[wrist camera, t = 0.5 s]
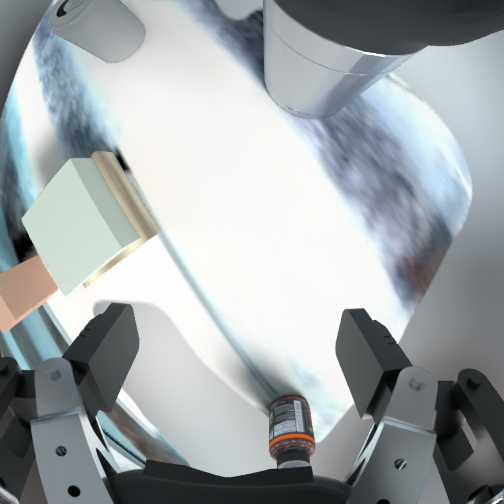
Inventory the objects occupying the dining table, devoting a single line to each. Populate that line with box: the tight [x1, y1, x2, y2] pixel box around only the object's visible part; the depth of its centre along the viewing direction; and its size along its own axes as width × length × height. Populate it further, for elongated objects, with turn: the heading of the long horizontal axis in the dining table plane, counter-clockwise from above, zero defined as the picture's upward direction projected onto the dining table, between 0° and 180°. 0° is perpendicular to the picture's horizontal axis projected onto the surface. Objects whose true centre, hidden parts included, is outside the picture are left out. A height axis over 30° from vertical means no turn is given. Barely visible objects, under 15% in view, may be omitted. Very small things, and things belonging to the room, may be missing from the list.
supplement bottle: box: [269, 396, 315, 469], centre depth 31 cm, size 6×6×11 cm
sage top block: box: [22, 158, 140, 296], centre depth 24 cm, size 10×10×4 cm
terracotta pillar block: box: [0, 255, 58, 334], centre depth 28 cm, size 6×6×10 cm
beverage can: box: [48, 0, 145, 63], centre depth 17 cm, size 6×6×12 cm
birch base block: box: [83, 151, 161, 288], centre depth 28 cm, size 11×11×4 cm
